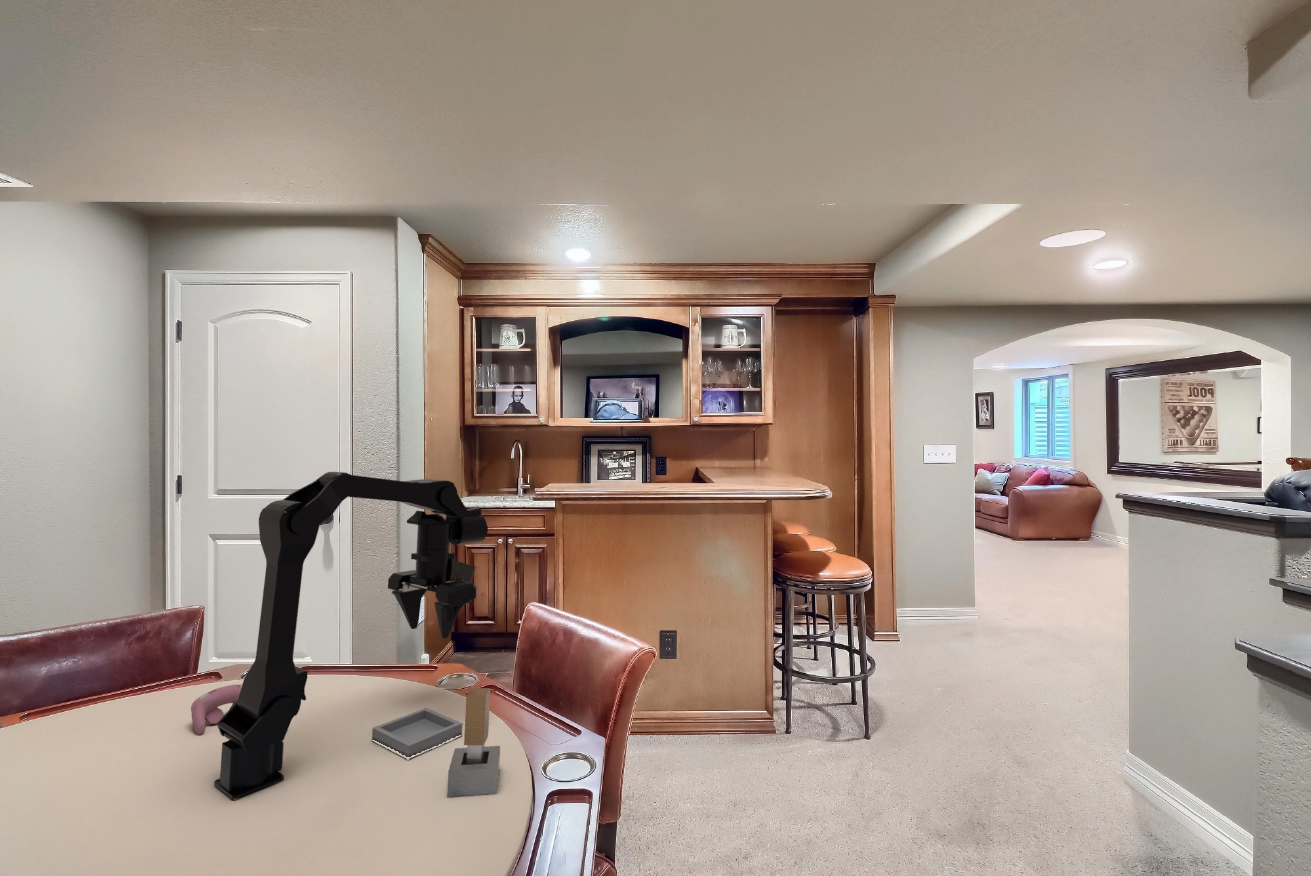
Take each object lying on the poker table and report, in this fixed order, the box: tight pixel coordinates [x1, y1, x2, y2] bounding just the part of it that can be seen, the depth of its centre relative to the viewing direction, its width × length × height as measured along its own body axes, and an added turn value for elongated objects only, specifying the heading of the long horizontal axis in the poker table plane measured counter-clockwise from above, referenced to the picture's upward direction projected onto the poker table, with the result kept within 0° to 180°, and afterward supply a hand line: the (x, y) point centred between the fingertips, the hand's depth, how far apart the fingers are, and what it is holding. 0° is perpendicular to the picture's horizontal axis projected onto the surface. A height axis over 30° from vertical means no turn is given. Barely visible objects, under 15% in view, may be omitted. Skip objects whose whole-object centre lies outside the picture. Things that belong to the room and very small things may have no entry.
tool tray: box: [371, 707, 463, 757], centre depth 97 cm, size 10×10×2 cm
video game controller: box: [190, 684, 242, 736], centre depth 101 cm, size 10×5×7 cm, turn 141°
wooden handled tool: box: [463, 687, 491, 765], centre depth 85 cm, size 3×3×13 cm
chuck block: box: [446, 745, 501, 798], centre depth 85 cm, size 7×7×4 cm
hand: (429, 633), depth 107 cm, fingers open, 9 cm apart
